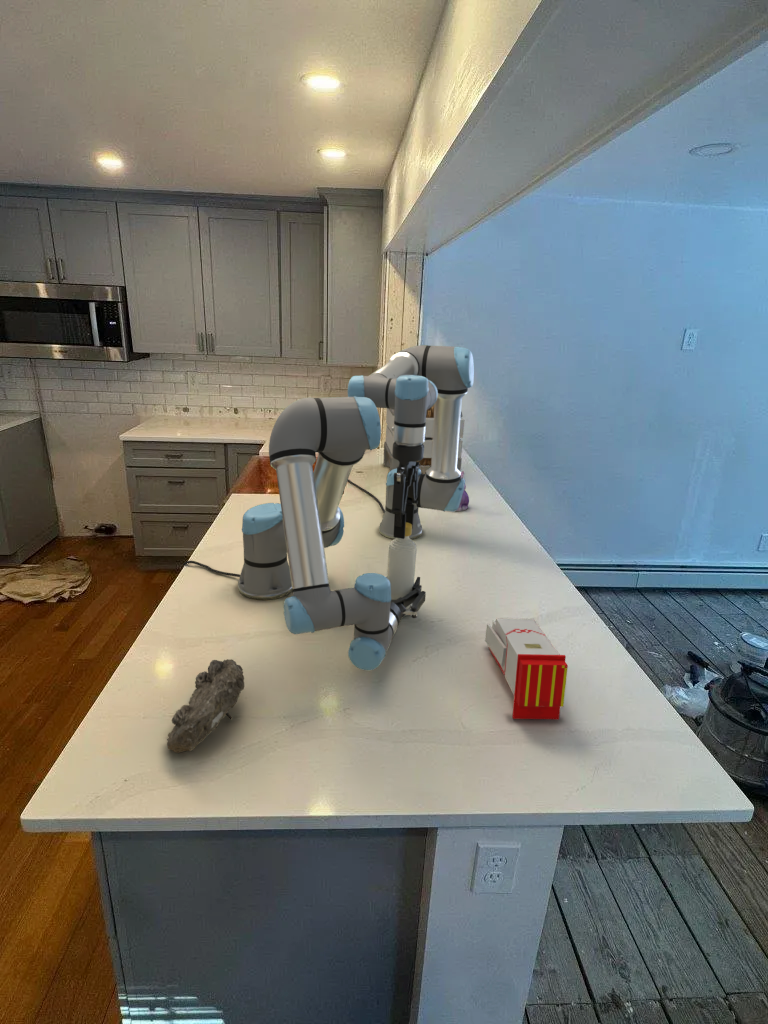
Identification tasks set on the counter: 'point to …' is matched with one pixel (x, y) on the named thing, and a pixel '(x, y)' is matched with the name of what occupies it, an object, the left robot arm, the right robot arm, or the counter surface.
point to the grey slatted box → (426, 460)
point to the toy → (529, 667)
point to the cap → (408, 529)
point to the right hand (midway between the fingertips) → (403, 532)
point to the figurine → (463, 498)
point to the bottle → (401, 566)
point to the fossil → (206, 705)
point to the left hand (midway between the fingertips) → (404, 579)
